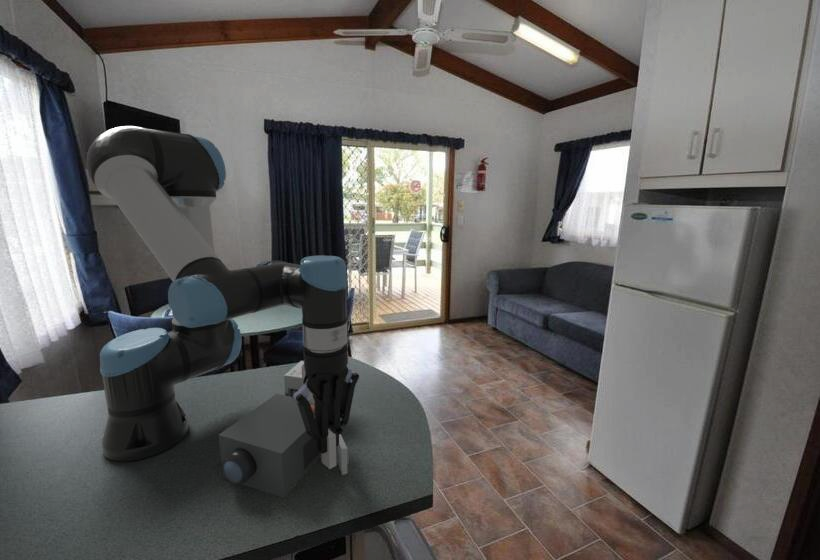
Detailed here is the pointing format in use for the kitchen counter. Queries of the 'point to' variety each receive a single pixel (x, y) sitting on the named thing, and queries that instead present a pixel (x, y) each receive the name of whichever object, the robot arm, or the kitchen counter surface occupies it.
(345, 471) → the side door
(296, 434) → the block
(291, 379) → the ink box
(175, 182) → the robot arm
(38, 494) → the kitchen counter surface
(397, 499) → the kitchen counter surface
